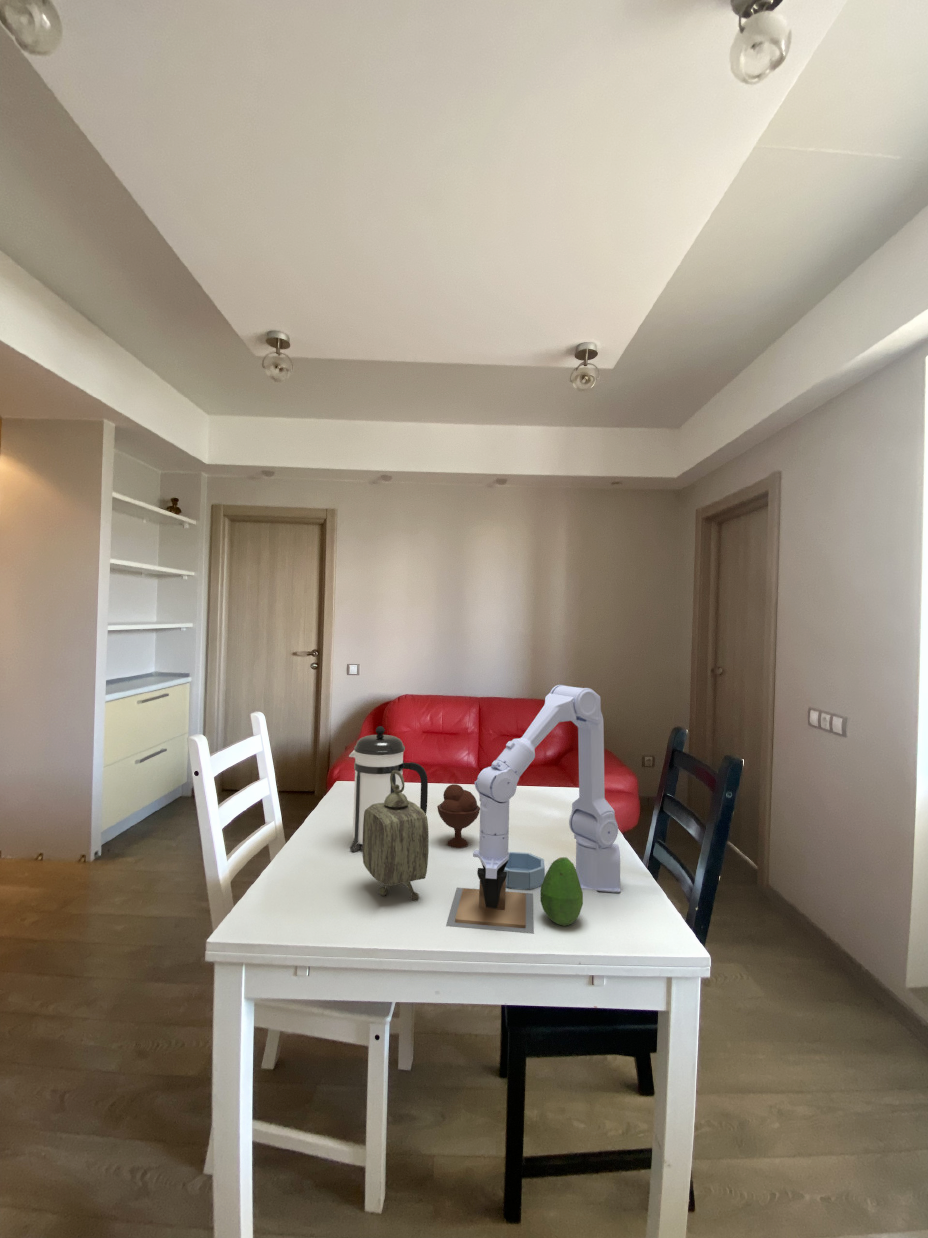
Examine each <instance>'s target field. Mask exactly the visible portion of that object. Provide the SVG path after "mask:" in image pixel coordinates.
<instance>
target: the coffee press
mask: <svg viewBox="0 0 928 1238" xmlns="http://www.w3.org/2000/svg"><path fill="white" fill-rule="evenodd" d="M375 732H376V733H375V734H370V735H366V736H363V737H361V738H360V739H358V740H357V742H356V745H354V747H353V748H354V749H353V751H352V752H351V753H349V755H348V757H349V758H354V759H355V760H354V767H353V769H354V787H353V788H354V793H353V795H354V796H353V797H354V798H353V818H352V819H353V824H352V825H353V826H352V837H353V841H352V842H351V845H350V847H349V849H350V851H351V852H353V853H356V852H357V853H358V851H359V849H360V848H361V847H363V820H364V812H365V810H366V809H367V808H368V807H370V806H371V805H372V804H377V803H384V801H385V799H386V797H387V796H388V795H389V794H391V793H394V790H393V788H392V786H391V783H390V775H391V773H392V771H394V770H396V771H398V772H400V773H401V774H402V775H403V770H410V771H414V772H416V773H417V774H418V775H419V778H420V803H419V805H420V806H419V807H420V808H421V809H422V810H423V811H424V812H425V814H426V815H427V811H428V789H429V788H428V787H429V784H428V783H429V780H428V774H427V772H426V769H425V768H424V767H423V766H422V765H420V764H419V763H417V762H411V761H410V762H405V761H404V752H405V750H406V746H405V745H404V743H403V741H402V740H401V739H400V738H398V737H397V736H395V735H388V734H385V732H386V729H385V728H384V727H383V726H381V725H379V726H377V727H376V728H375ZM392 782H393V784H394V786H395V785H396V784H398V785H399V790H401V789H402V781H401V779H400V777H399V776H398V775H397V774H393V776H392ZM401 793H403V792H401Z"/></svg>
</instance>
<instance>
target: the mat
mask: <svg viewBox="0 0 928 1238" xmlns="http://www.w3.org/2000/svg"><path fill="white" fill-rule="evenodd" d="M463 888H464V887H456V889H455V892H454V896H453V900H452V903H451V907H450V909H449V913H448V917H447V921H446V925H445V927H450V928H451V927H452V928H465V929H472V930H473V929H474V930H475V929H476V930H487V931H499V932H510V933H522V934H530V935H531V934H532V935H533V934H535V931H534V929H535V927H534V925H535V924H534V923H535V922H534V921H535V919H534V893H533V892H532V893H530V892H525V893H526V928H514V927H503V926H491V925H479V924H467V923H456V922H455V918H456V914H457V910H458V906H459V902H460V898H461V894H462V890H463ZM465 888H466V889H471V888H468V887H465ZM506 892H509V891H507V890H506ZM517 893H522V892H519V891H517Z"/></svg>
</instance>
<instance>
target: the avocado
mask: <svg viewBox="0 0 928 1238" xmlns="http://www.w3.org/2000/svg"><path fill="white" fill-rule="evenodd" d="M539 893H540V895H539V896H540V900H539V901H540V903H541V906H542V910H543V912H544V913H545V914H546V916H547V917H548V918H549V919H550V920H551V921H552V922H553V923H555V924H556V925H561V926H564V927H565V926H569V925H572V924H573V923H575V922H576V921H577V920H578V917H579V916H580V913H581V910H582V909H583V905H584V898H583V897H584V896H583V895H584V894H583V889H581V885H580V882H579V879H578V875H577V872H576V866H575V865H574V863H573V862H572V861H571V860H570V859H569V858H568V857H558V858H557V859H555V860H553V862H552V863H551V864H550V865H549V867H548V869H547V871H546V872H545V877H544V880H543V883H542V885H541V886H540V892H539Z"/></svg>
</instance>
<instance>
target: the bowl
mask: <svg viewBox="0 0 928 1238" xmlns="http://www.w3.org/2000/svg"><path fill="white" fill-rule="evenodd" d="M508 853H509V859H508V863H507V865H506V867H505V869H504V872H507V877H506V888H508V889H513V890H521V891H523V890H533V889H536V888H539V887H541V886H542V883H543V880H544V878H545V875H546V872H545V868H546V866H545V859H544V858H542V857H540V856H538V855H536V854H532V853H531V852H519V851H508Z"/></svg>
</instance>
